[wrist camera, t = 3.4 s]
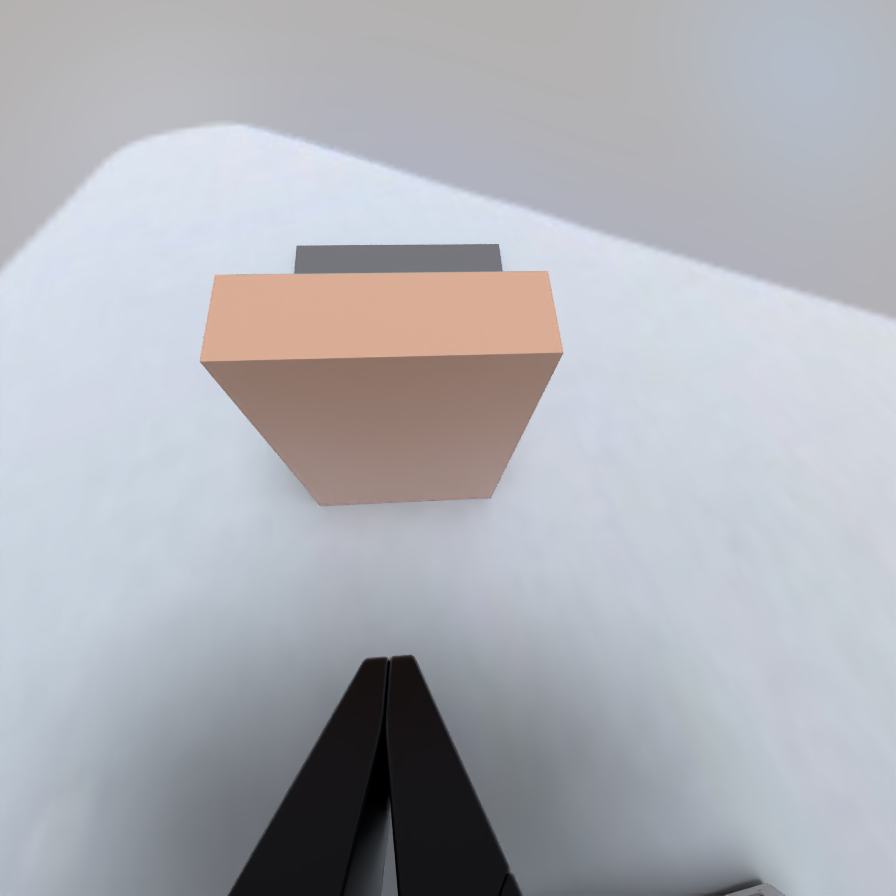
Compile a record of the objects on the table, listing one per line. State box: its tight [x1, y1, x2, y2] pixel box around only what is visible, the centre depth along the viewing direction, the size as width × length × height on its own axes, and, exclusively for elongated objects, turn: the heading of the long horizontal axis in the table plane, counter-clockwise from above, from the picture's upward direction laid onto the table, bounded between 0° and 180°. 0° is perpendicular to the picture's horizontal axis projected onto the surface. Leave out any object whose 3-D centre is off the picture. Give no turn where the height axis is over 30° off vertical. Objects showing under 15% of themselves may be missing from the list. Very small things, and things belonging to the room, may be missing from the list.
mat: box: [294, 244, 502, 274], centre depth 24 cm, size 12×12×1 cm
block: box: [200, 271, 563, 506], centre depth 16 cm, size 3×8×12 cm, turn 94°
